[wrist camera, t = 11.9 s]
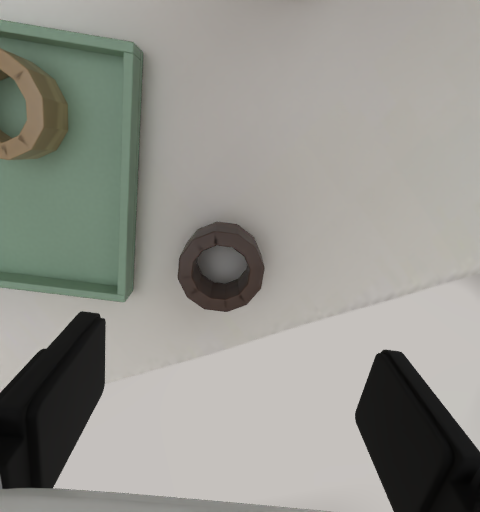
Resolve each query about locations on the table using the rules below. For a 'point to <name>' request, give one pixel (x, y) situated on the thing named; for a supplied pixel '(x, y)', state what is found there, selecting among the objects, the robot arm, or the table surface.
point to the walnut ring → (219, 293)
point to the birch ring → (34, 110)
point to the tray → (73, 169)
